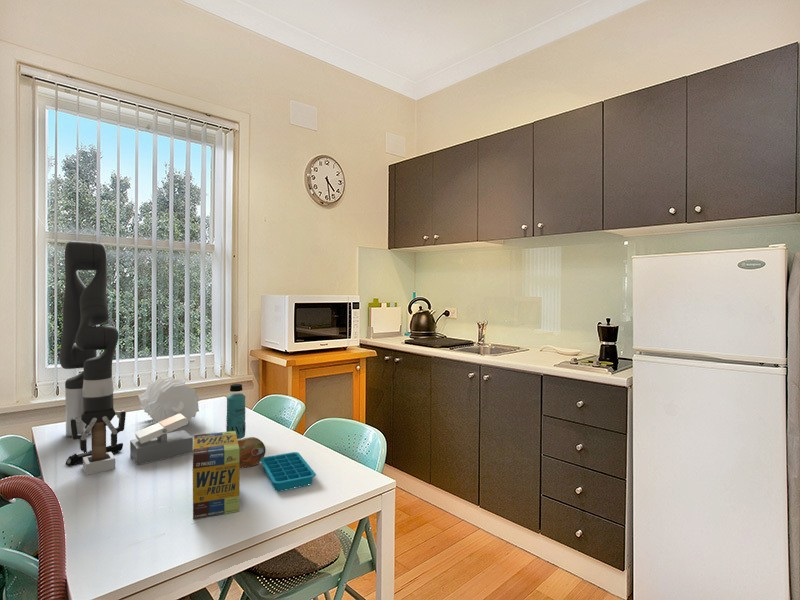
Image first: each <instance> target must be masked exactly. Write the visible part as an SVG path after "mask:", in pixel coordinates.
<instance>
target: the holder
mask: <svg viewBox="0 0 800 600" xmlns="http://www.w3.org/2000/svg"><path fill="white" fill-rule="evenodd" d="M82 468H83V471H84V474H85V475H86V476H87V475H92V474H93V475H94V474H96V473H97V474H98V473H101V472H105V471H110V470H113V469H116V457H115V456H114V453H112V452H107V453H106V459H105V460H100V461H95V462H92V456H87V457H83V462H82Z"/></svg>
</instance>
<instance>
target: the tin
mask: <svg viewBox="0 0 800 600" xmlns="http://www.w3.org/2000/svg"><path fill="white" fill-rule="evenodd" d="M237 440H238V445H239V454H240V464H239V468H240V469H243V468H242V467H245V468H249V467H248V466H251V467H254V466H253V465H255V466H257V465H258V464H260V463H261V461H260V459H261V458H263V457H266V456H265V455H266V446H265V444H264V442H263V441H262V440H261V439H259V438H258V437H255V436H250V437H243V438H241V439H237Z"/></svg>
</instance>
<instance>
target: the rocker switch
mask: <svg viewBox="0 0 800 600" xmlns="http://www.w3.org/2000/svg"><path fill="white" fill-rule="evenodd" d="M188 424H189V421H188V422H187V418H186V417H184V416H183V415H182V414H180V413H179V414H177V415H174V416H172V417H170V418H167V419H165V420H162V421H160V422H159V423H158V422H155V423H154V424H152V425H150V426H147V427H144V428H143V429H142V428H141V429H140V430H137V431H136V432H134V434H135V437H136V438H135V439H138V440H139V442H140V443H141V444H143V443H145V442H147V441H150V440H152V439H154V438H156V437H159V436H161V435H163V434H166V433H171V432H174V430H177V429H179V428H182V427H183V426H184V425H185V426H186V425H188Z"/></svg>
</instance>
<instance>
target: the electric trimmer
mask: <svg viewBox="0 0 800 600" xmlns="http://www.w3.org/2000/svg"><path fill="white" fill-rule="evenodd" d="M123 446H124V443H123V442H120V443H117V444H115V447H111V445H106V453H107V452H112V454H114V453H115V454H116V453H119V452H121V451H122V450H123V448H124V447H123ZM87 456H92V449H91V450H89V451H87V452H85V453H84V452H83V453H78V454H77V453H74V454H72V455H69V456H68V458H67V459H66V460H65V465H66V466H67V467H73V466H75V465H76V464H80V463H83V457H87Z"/></svg>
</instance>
